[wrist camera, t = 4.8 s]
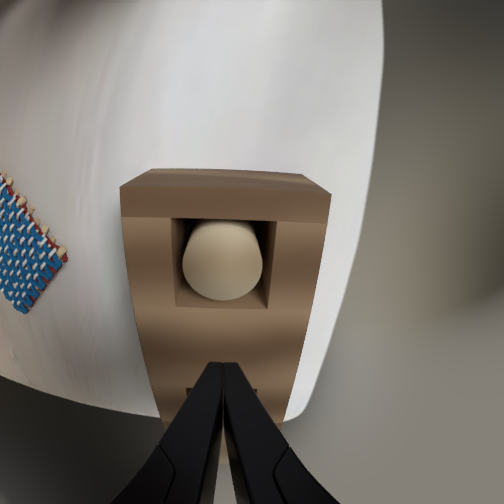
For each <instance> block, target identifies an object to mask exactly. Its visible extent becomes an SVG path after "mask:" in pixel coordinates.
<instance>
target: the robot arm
mask: <svg viewBox="0 0 504 504" xmlns="http://www.w3.org/2000/svg"><path fill="white" fill-rule="evenodd" d="M223 425H224V435H225V441H226V447H227V453H228V459H229V465H230V470H231V476H232V481H233V486H234V491H235V497H236V501H237V504H340V503H339V502H338V501H337V500H336V499H335V498H334V497H333V496H332V495H331V494H330V493H329V492H328V491H326V489H325V488H324V487H323V486H322V485H321V484H320V483H319V482H318V481H317V480H316V479H315V478H314V477H313V476H312V475H311V473H310V472H309V471H308V470H307V469H306V468H305V466H304V465H303V464H302V462H301V461H300V460H299V458H298V457H297V456H296V454H295V453H294V451H293V450H292V448H291V447H289V444H288V443H287V441H286V440H285V438H284V437H283V435H282V433H281V432H280V430H279V429H278V427H277V426H276V424H275V423H274V421H273V420H272V418H271V417H270V415H269V413H268V412H267V410H266V409H265V407H264V405H263V404H262V402H261V401H260V399H259V397H258V396H257V394H256V393H255V391H254V389H253V388H252V386H251V384H250V383H249V381H248V379H247V378H246V376H245V374H244V373H243V371H242V369H241V368H240V366H239V364H238V363H237V362H224V363H222V362H220V361H210V362H208V364H207V365H206V367H205V369H204V370H203V372H202V373H201V375H200V377H199V378H198V380H197V382H196V383H195V385H194V386H193V388H192V390H191V391H190V393H189V394H188V396H187V398H186V399H185V401H184V402H183V404H182V406H181V407H180V409H179V410H178V412H177V414H176V415H175V417H174V418H173V420H172V421H171V423H170V425H169V426H168V428H167V429H166V431H165V433H164V434H163V436H162V437H161V439H160V440H159V442H158V445H156V446H155V448H154V449H153V451H152V453H151V454H150V456H149V457H148V458H147V460H146V461H145V463H144V464H143V465H142V467H141V468H140V469H139V470H138V472H137V473H136V474H135V475H134V477H133V478H132V479H131V480H130V481H129V482H128V483H127V484H126V485H125V487H124V488H123V489H122V490H121V491H120V492H119V493H118V494H117V495H116V496H115V497H114V498H113V500H111V502H110V503H109V504H213V502H214V494H215V486H216V479H217V471H218V463H219V456H220V448H221V440H222V432H223Z"/></svg>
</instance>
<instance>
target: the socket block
mask: <svg viewBox="0 0 504 504" xmlns="http://www.w3.org/2000/svg"><path fill="white" fill-rule="evenodd" d="M331 195H332V194H330V193H329V192H328V191H326V190H325V189H323V188H322V187H320V186H319V185H317V184H316V183H314V182H313V181H311V180H310V179H308V178H307V177H305V176H304V175H302V174H292V173H280V172H265V171H248V170H226V169H150V170H149V171H147V172H145V173H143V174H141V175H139V176H138V177H136V178H134V179H132V180H131V181H129V182H127V183H125V184H124V185H122V186H120V203H121V217H122V229H123V239H124V248H125V257H126V265H127V272H128V279H129V286H130V292H131V298H132V304H133V309H134V315H135V320H136V325H137V330H138V334H139V339H140V344H141V348H142V352H143V357H144V361H145V365H146V369H147V373H148V376H149V380H150V384H151V387H152V391H153V394H154V398H155V401H156V405H157V408H158V411H159V414H160V417H161V420H162V423H163V426H164V429H167V428H168V426H169V425H170V423H171V421H172V420H173V418H174V417H175V415H176V414H177V412H178V410H179V409H180V407H181V406H182V404H183V402H184V401H185V399H186V398H187V396H188V394H189V393H190V391H191V390H192V388H193V386H194V385H195V383H196V382H197V380H198V378H199V377H200V375H201V373H202V372H203V370H204V369H205V367H206V365H207V364H208V362H210V361H220V362H222V363H224V362H237V363H238V364H239V366H240V368H241V369H242V371H243V373H244V374H245V376H246V378H247V379H248V381H249V383H250V384H251V386H252V388H253V389H254V391H255V393H256V394H257V396H258V397H259V399H260V401H261V402H262V404H263V405H264V407H265V409H266V410H267V412H268V413H269V415H270V417H271V418H272V420H273V421H274V423H275V424H276V426H277V427H278V429H279V430H281V426H282V423H283V420H284V416H285V413H286V409H287V406H288V402H289V399H290V395H291V391H292V388H293V384H294V380H295V376H296V373H297V369H298V365H299V361H300V357H301V353H302V348H303V344H304V340H305V336H306V331H307V327H308V323H309V318H310V313H311V309H312V304H313V299H314V294H315V289H316V284H317V279H318V274H319V269H320V263H321V258H322V252H323V246H324V240H325V234H326V228H327V222H328V215H329V209H330V202H331ZM188 218H205V219H236V220H261V225H260V237H259V249H260V253H261V257H262V273H261V276H260V278H259V281H258V282H257V284H256V285H255V286H254V288H253V289H252V290H250V291H249V292H248V293H247V294H245V295H243V296H241V297H239V298H236V299H232V300H223V301H221V300H214V299H210V298H207V297H205V296H202V295H201V294H199V293H198V292H196V291H195V290H194V289H193V288H192V287H191V286H190V285H189V283H188V282H187V280H186V278H185V275H184V272H183V256H184V253H185V250H186V247H187V244H188Z"/></svg>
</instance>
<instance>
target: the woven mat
mask: <svg viewBox="0 0 504 504" xmlns="http://www.w3.org/2000/svg"><path fill="white" fill-rule="evenodd" d="M6 175H7V173H6V172H5V170H4V171H3V172H2V174H1V173H0V253H1V254H0V289H1V292H2V293H3V292H4V295H5V297H6V299H8V300H10V301H11V304H12V305H13V306H14V308H15V309H16V310H18V311H20V312H22V313H23V314H26V313H27V312H28V311H29V310H28V309H27V306H28V307H32V306H33V303H34V301H35V300H36V299H37V297H38V296H39V295H40V293H39V292H38V289H40V291H41V292H42V291H44V288H45V287H46V283H44V281H46V282H47V283H49V281H50V279H51V278H52V277H53V276H54V275H53V273H54V274H56V273H57V271H58V269H60V267H61V266H62V262H61V261H60V260H61V259H63V262H67V260H68V258H67V255H66V251H67V250H66V248H65V247H64V246H63V245H61V247H59V246H57V245H55V242H56V240H57V239H56V238H55V237H54V236H52V237H51V238H50V239H49V238H48V237H47V236H46V235H47V233H48V231H49V228H48V227H47V226H46V225H45V226H42V230H41V229H40V228H39V227H38V225H39V224H40V219H39V218H38V217H36V218H35V219H34V220H33V218H32V217H31V215H32V213H33V212H34V210H35V208H34V206H33V205H32V204H30V206H29V208H28V209H26V204H25V203H26V201H27V200H26V199H25V197H24V196H23V195H22V196H21V197H20V196H18V194H19V191H18V190H17V188H16V189H15V191H14V192H13V191H12V189H11V187H12V184H13V180H12V179H11V177H9V178H7V179H6V181H5V177H6ZM16 201H17V202H16ZM18 220H20V222H19V221H18ZM26 227H27V228H26ZM51 248H52V249H53V250H52V249H51ZM55 251H56V252H55ZM26 266H27V267H26ZM25 267H26V268H25ZM42 270H43V271H42ZM52 272H53V273H52ZM1 284H2V285H1ZM24 297H25V298H24ZM32 299H33V300H32ZM16 302H17V303H16Z"/></svg>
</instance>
